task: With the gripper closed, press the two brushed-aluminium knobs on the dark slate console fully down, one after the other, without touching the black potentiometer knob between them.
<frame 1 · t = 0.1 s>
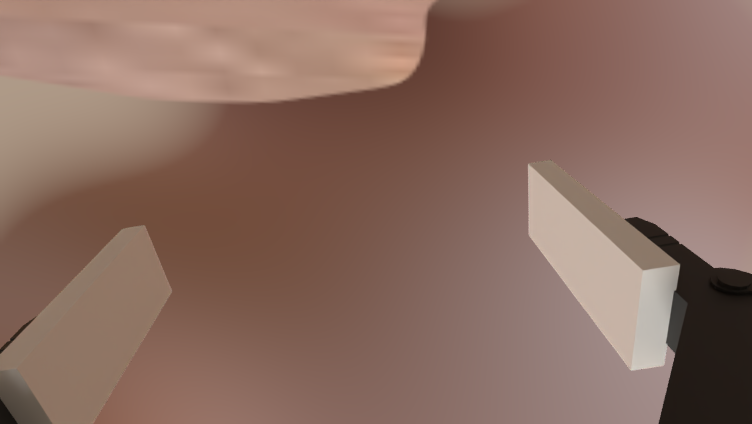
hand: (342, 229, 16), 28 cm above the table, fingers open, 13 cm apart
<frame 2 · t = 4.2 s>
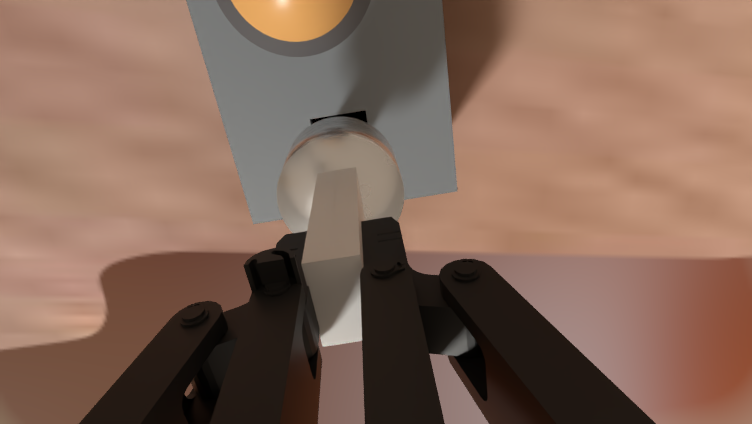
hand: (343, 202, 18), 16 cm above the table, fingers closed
knob a: (342, 152, 23), point 10 cm above the table, slide at 1.4 cm, touching gripper
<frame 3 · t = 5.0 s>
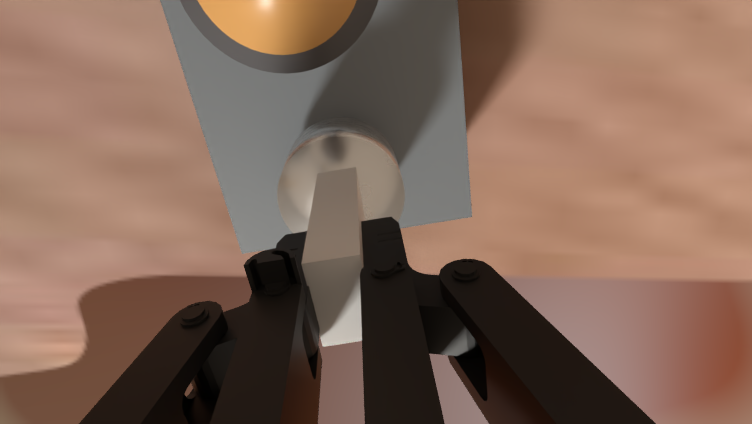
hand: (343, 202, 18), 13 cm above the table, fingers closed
knob a: (342, 153, 23), point 7 cm above the table, slide at 4.7 cm, touching gripper
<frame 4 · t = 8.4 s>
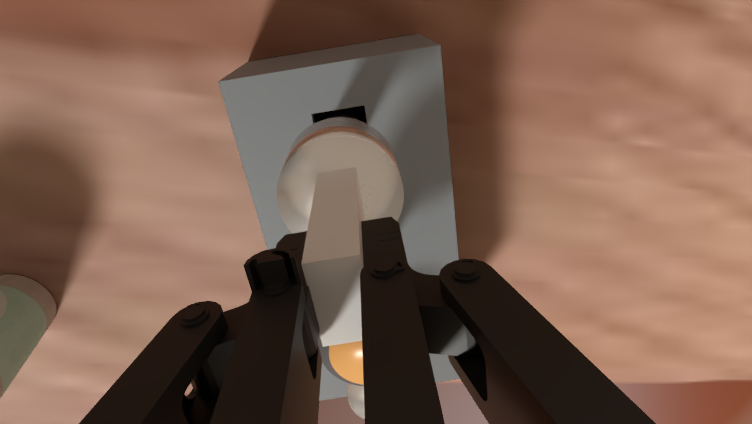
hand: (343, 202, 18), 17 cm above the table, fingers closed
coffee cup: (21, 301, 39), on the table
console: (361, 203, 37), on the table
knob a: (381, 335, 34), point 6 cm above the table, slide at 4.8 cm
knob b: (342, 153, 23), point 11 cm above the table, slide at 0.0 cm, touching gripper
pot knob: (366, 283, 27), point 11 cm above the table, slide at 0.0 cm
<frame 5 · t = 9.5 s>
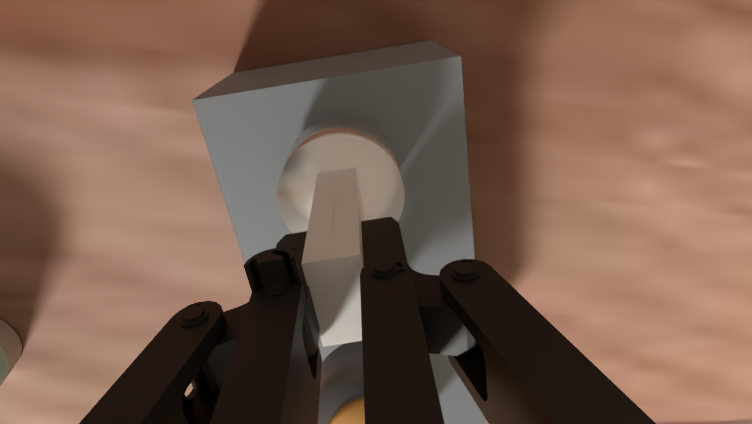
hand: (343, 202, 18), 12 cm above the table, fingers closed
console: (363, 231, 33), on the table
knob b: (342, 153, 23), point 7 cm above the table, slide at 4.7 cm, touching gripper
pot knob: (371, 338, 22), point 11 cm above the table, slide at 0.0 cm
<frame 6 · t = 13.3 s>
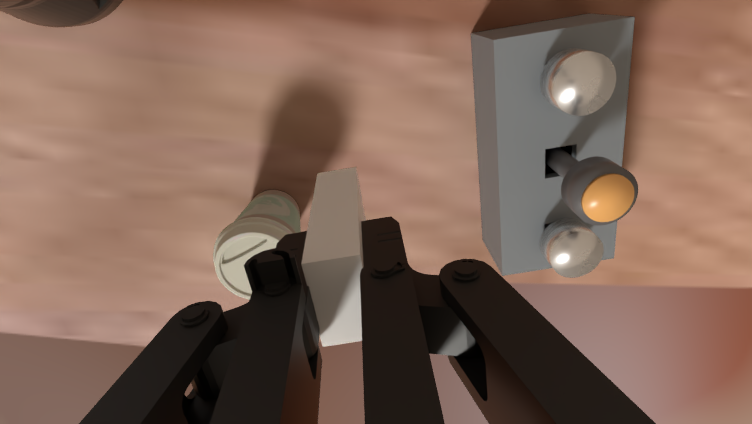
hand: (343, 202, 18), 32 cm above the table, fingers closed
coffee cup: (274, 211, 54), on the table
console: (530, 138, 51), on the table
knob a: (552, 227, 49), point 6 cm above the table, slide at 4.8 cm
knob b: (555, 73, 42), point 6 cm above the table, slide at 4.8 cm
pot knob: (575, 173, 41), point 11 cm above the table, slide at 0.0 cm
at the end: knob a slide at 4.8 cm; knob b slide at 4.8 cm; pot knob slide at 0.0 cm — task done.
